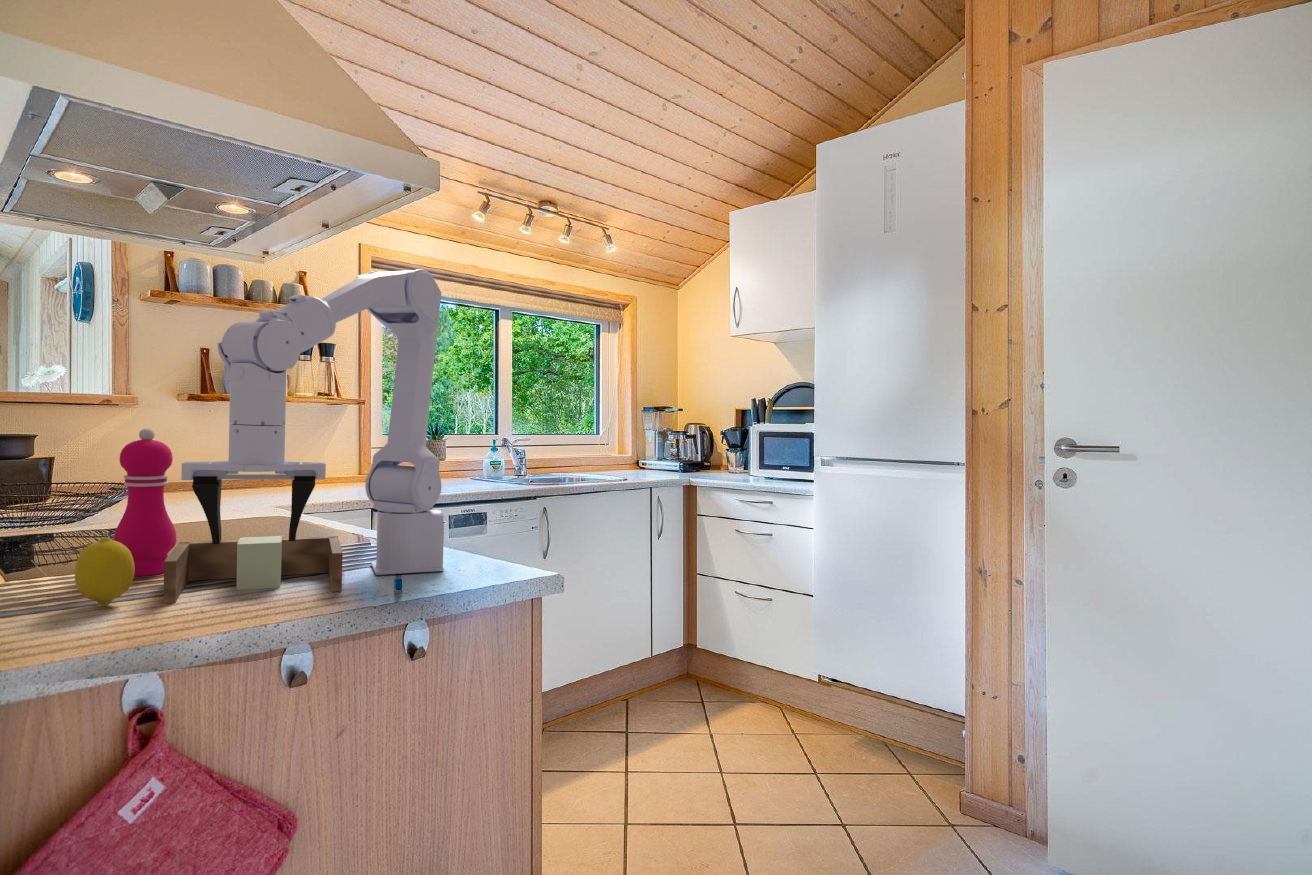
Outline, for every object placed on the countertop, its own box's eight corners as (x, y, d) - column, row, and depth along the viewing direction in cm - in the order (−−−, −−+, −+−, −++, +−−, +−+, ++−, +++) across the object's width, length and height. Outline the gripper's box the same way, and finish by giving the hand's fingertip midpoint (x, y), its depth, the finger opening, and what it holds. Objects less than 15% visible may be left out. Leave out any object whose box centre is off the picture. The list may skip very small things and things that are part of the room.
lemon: (82, 615, 79) (83, 543, 79) (67, 605, 83) (68, 536, 82) (141, 605, 84) (142, 537, 83) (125, 596, 87) (125, 531, 87)
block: (281, 579, 99) (281, 535, 99) (280, 587, 94) (281, 542, 94) (239, 581, 97) (240, 537, 96) (236, 590, 92) (237, 544, 92)
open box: (337, 570, 105) (337, 536, 105) (341, 590, 94) (342, 552, 93) (179, 579, 96) (179, 542, 96) (163, 603, 85) (164, 561, 85)
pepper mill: (160, 563, 105) (162, 427, 104) (186, 570, 101) (188, 429, 100) (102, 572, 98) (104, 427, 98) (128, 580, 95) (130, 429, 94)
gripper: (178, 424, 76) (175, 550, 77) (327, 427, 83) (324, 544, 83) (187, 422, 83) (185, 539, 83) (325, 425, 89) (322, 534, 90)
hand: (255, 541), depth 84 cm, fingers open, 7 cm apart
